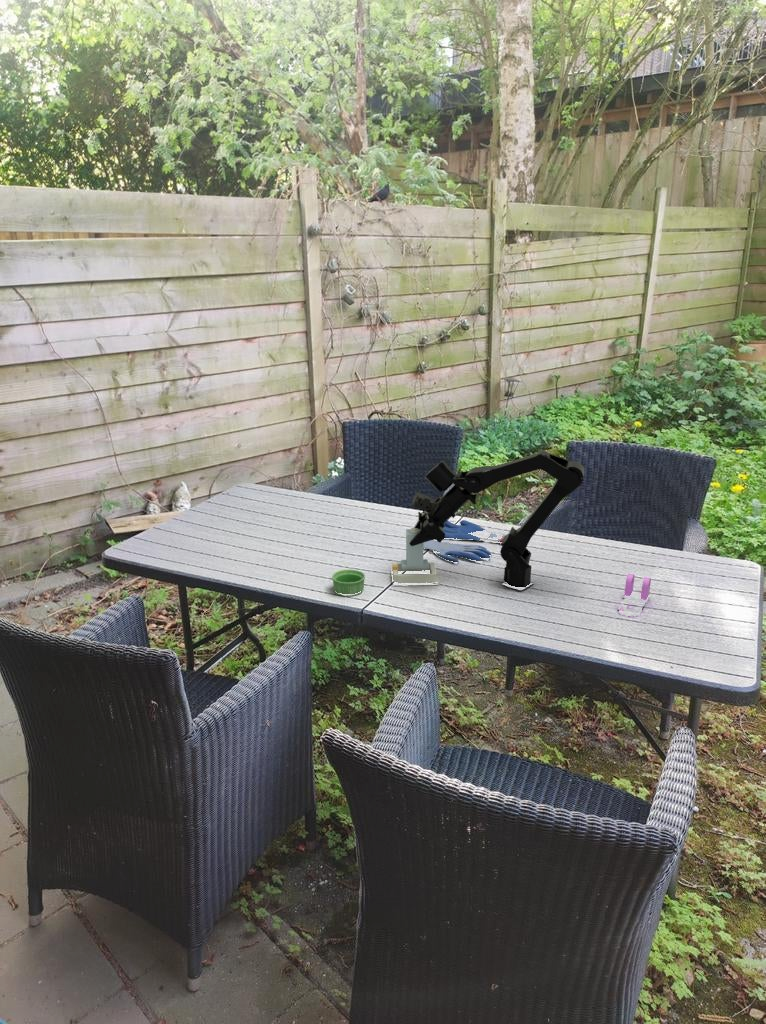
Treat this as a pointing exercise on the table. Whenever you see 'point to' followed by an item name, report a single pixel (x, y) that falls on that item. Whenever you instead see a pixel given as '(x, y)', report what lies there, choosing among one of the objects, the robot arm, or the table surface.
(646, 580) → the bracket
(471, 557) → the pair of gloves
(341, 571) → the ramekin
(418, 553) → the block
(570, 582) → the table surface
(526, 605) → the table surface
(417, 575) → the pocket tray
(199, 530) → the table surface
